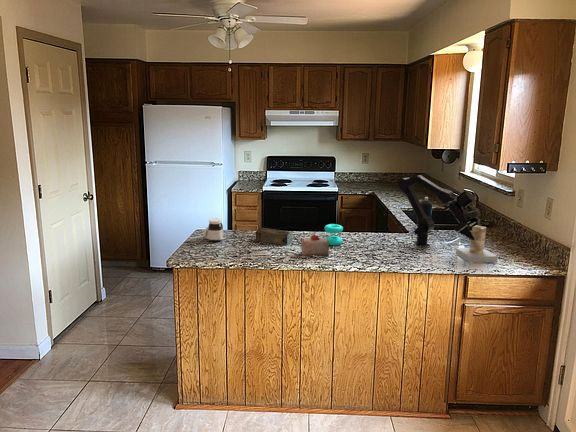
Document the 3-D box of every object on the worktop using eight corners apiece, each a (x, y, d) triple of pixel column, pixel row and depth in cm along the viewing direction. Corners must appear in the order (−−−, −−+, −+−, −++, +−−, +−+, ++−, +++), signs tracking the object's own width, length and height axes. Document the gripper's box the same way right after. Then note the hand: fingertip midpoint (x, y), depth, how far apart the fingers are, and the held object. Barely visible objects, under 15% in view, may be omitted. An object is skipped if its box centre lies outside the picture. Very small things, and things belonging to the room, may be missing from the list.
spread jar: (221, 243, 248) (221, 222, 245) (200, 242, 248) (199, 222, 245) (224, 237, 259) (224, 217, 256) (204, 236, 259) (204, 216, 257)
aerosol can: (421, 231, 277) (424, 198, 272) (414, 227, 285) (416, 196, 280) (433, 230, 280) (436, 198, 275) (425, 226, 287) (428, 195, 282)
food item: (302, 257, 228) (303, 238, 226) (300, 252, 236) (300, 233, 233) (329, 256, 230) (330, 237, 227) (326, 251, 237) (327, 233, 235)
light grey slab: (455, 253, 237) (456, 248, 236) (480, 252, 239) (481, 247, 238) (470, 263, 223) (470, 257, 222) (496, 261, 225) (497, 256, 225)
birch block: (469, 252, 230) (472, 227, 227) (473, 249, 234) (476, 225, 231) (479, 254, 227) (482, 229, 224) (483, 252, 230) (486, 227, 227)
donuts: (330, 222, 255) (346, 225, 249) (330, 239, 258) (345, 243, 252) (321, 226, 247) (337, 229, 242) (320, 243, 250) (336, 247, 244)
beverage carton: (287, 245, 246) (287, 234, 244) (254, 241, 252) (254, 230, 251) (292, 241, 253) (292, 230, 251) (260, 237, 259) (260, 226, 258)
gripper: (462, 206, 222) (482, 232, 217) (478, 200, 235) (498, 225, 230) (445, 218, 229) (464, 244, 224) (462, 212, 242) (480, 237, 237)
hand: (477, 237), depth 229 cm, fingers open, 9 cm apart
